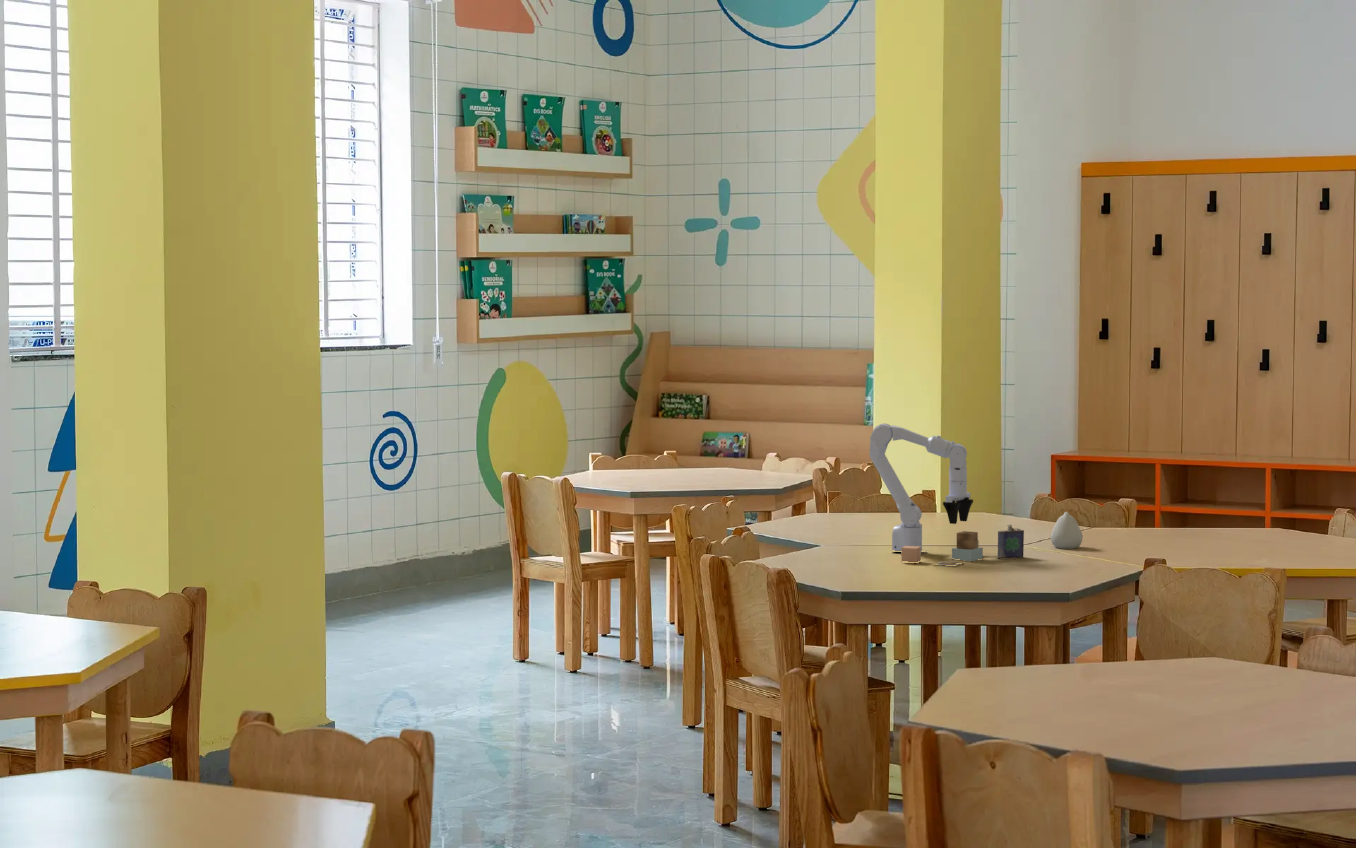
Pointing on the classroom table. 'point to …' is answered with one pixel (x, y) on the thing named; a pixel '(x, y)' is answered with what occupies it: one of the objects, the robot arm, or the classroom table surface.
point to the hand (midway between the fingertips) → (958, 522)
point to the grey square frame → (947, 563)
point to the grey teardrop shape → (1066, 533)
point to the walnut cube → (967, 540)
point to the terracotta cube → (911, 553)
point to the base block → (967, 554)
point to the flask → (1011, 543)
